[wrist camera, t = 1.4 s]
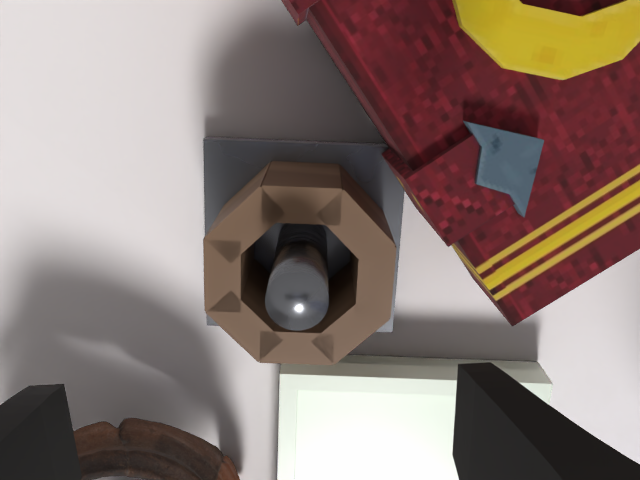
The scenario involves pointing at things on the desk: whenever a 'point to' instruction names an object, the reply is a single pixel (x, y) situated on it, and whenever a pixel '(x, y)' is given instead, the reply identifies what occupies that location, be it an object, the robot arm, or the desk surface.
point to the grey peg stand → (300, 239)
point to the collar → (252, 278)
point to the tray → (377, 416)
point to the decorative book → (504, 128)
